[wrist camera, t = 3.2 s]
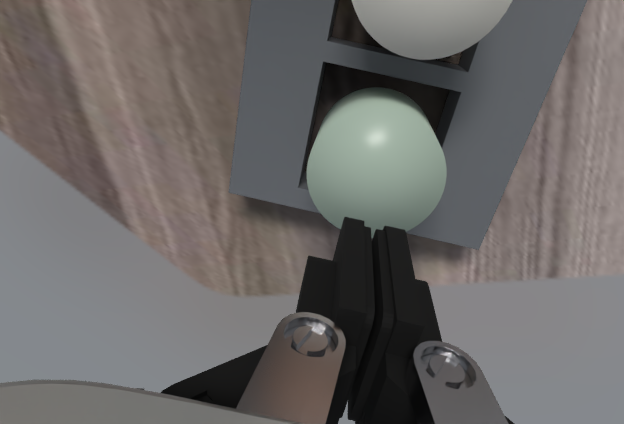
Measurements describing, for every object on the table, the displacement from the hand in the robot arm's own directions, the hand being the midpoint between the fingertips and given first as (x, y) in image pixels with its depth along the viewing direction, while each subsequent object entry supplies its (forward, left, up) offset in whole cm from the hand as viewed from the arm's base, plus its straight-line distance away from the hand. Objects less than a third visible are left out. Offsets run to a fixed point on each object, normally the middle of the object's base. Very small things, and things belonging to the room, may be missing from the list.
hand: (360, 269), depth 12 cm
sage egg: (0, 0, -11) cm, 11 cm away
